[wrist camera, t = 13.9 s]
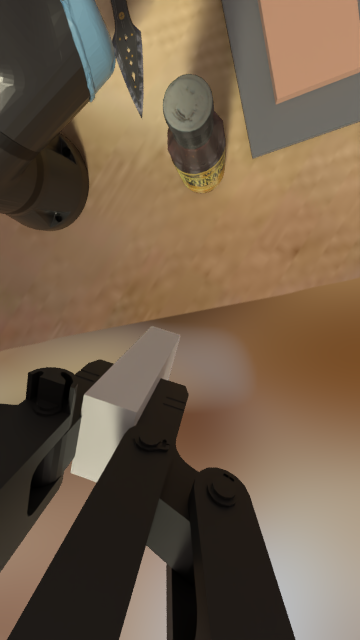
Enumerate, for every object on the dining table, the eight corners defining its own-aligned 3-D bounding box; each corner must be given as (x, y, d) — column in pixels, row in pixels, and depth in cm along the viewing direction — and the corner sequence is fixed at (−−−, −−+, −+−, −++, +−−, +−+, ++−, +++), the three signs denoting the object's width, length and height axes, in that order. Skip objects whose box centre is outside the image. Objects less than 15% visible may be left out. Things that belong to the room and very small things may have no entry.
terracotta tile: (364, 65, 33) (350, -59, 30) (277, 99, 35) (257, -14, 32) (358, 73, 34) (344, -44, 32) (275, 105, 37) (256, -2, 34)
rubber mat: (396, 108, 35) (398, 106, 34) (252, 158, 39) (252, 157, 39) (377, -89, 31) (380, -95, 30) (219, -9, 35) (219, -14, 34)
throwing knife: (124, -59, 36) (122, -63, 35) (156, 115, 40) (155, 113, 40) (94, -45, 37) (91, -49, 36) (128, 123, 41) (127, 122, 40)
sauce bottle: (192, 202, 42) (160, 167, 23) (176, 161, 41) (129, 88, 22) (233, 182, 40) (235, 126, 21) (217, 138, 39) (205, 39, 20)
